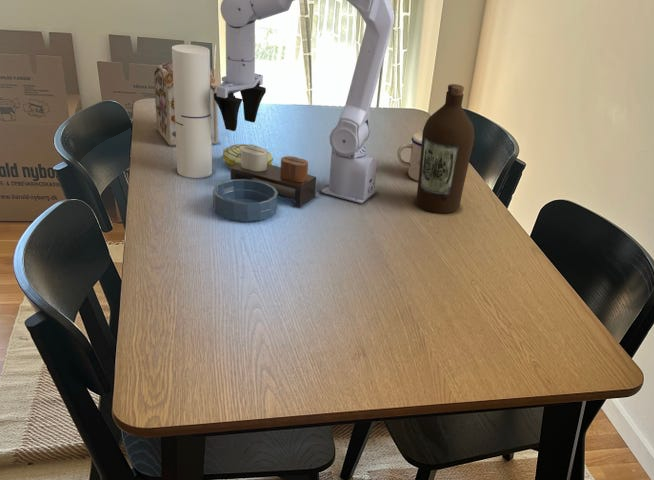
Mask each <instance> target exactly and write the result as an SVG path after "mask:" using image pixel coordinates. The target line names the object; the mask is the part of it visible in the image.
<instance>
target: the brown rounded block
mask: <svg viewBox="0 0 654 480" xmlns="http://www.w3.org/2000/svg"><path fill="white" fill-rule="evenodd" d="M280 167H281V171H280V177H281V178H283V179H285V180H290V181H293V182H304V181H306V180H307V174H308V171H309V168H308V167H309V161H308V160H307V159H304V158H301V157H300V158H299V157H297V156H292V155H286V156H285V155H284V156H282V157H281V158H280Z"/></svg>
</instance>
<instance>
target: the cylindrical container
mask: <svg viewBox="0 0 654 480" xmlns="http://www.w3.org/2000/svg"><path fill="white" fill-rule="evenodd" d="M171 62H172V63H173V85H174V108H175V129H176V146H175V147H176V148H175V150H176V167H177V168H176V170H177V173H178V174H179V175H180V176H182V177H184V178H185V177H186V178H192V179H199V178H200V179H202V178H207V177H209V176H212V174H213V159H212V158H213V157H212V156H213V155H212V144H211V99H210V70H211V51H210V49H209V47H206V46H202V45H197V44H188V43H187V44H186V43H185V44H184V43H183V44H175V45H172V46H171Z"/></svg>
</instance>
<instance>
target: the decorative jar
mask: <svg viewBox="0 0 654 480" xmlns="http://www.w3.org/2000/svg"><path fill="white" fill-rule="evenodd" d="M153 80H154V81H153V82H154V99H155V100H154V102H155V116H156V119H155V120H156V128H157V131H158V132H159V134H160V135H161V137H162V138H163V139H164V140H165V141H166V143H167V145H168V146H170V147H176V129H175V108H174V85H173V63H172V61H166V62H164V63H160V64H159V65H157V67H156V68H155V71H154V73H153ZM217 86H218V85H217V83H216V79H215V78H214V74H213V72H212V70H211V69H210V99H211V145H217V144H218V143H219V124H218V123H219V113H218V104H217V103H216V101H215V99H214V93H217Z"/></svg>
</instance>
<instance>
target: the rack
mask: <svg viewBox="0 0 654 480" xmlns="http://www.w3.org/2000/svg"><path fill="white" fill-rule="evenodd" d="M280 171H281V166H277V165H273V164H272V165H270V164H267V170H265V171H252V170H249V169H245V168H242V167H241V163H240V164H238V165H236V166H234V167H232V168H230V180H234V179H247V180H256V181H260V182H264V183H267V184H269V185H271V186H273V187H274V188H275V189H276V190H277V192H278V198H283V199H286V200H291V201H294V207H295V208H299V209H300V208H301V207H303V206H305V205H306V204H307V203H309V202H311V200H313V199H314V198H316V189H317V176H315V175H311V174H308V173H307V180H306V181H304V182H293V181H290V180H285V179H283V178H281V177H280Z"/></svg>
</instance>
